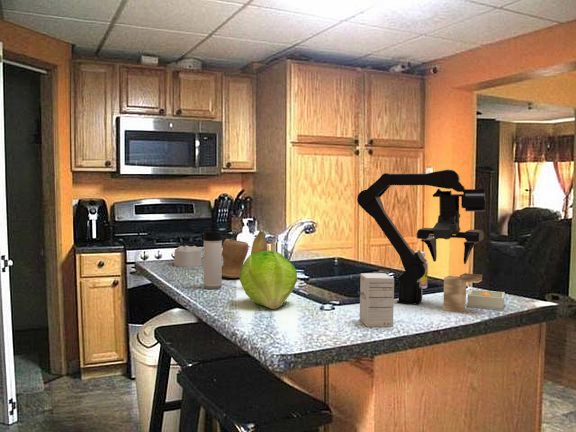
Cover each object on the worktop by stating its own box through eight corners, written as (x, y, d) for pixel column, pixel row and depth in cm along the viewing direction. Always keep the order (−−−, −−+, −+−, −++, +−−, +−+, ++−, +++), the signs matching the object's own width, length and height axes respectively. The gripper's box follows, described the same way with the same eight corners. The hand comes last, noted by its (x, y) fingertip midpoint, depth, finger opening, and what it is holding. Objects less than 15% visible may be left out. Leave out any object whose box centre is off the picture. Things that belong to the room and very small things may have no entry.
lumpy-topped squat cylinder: (183, 268, 230) (183, 248, 230) (169, 264, 240) (169, 245, 240) (204, 265, 237) (204, 246, 237) (189, 262, 247) (189, 244, 247)
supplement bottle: (427, 289, 184) (428, 253, 184) (408, 289, 186) (409, 252, 185) (426, 286, 191) (427, 251, 190) (407, 285, 192) (408, 250, 192)
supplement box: (358, 319, 141) (359, 272, 140) (386, 319, 141) (387, 272, 141) (365, 327, 133) (366, 277, 133) (393, 326, 134) (394, 277, 133)
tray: (467, 306, 158) (467, 295, 158) (470, 300, 167) (470, 289, 167) (503, 310, 154) (503, 298, 154) (504, 303, 163) (504, 292, 163)
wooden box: (443, 310, 153) (444, 273, 152) (448, 307, 157) (449, 271, 157) (476, 314, 148) (477, 277, 147) (481, 311, 152) (482, 274, 151)
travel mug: (199, 288, 182) (199, 231, 181) (209, 285, 188) (209, 229, 187) (215, 290, 180) (215, 231, 179) (224, 287, 186) (225, 230, 185)
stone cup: (254, 277, 206) (254, 239, 206) (230, 281, 198) (230, 241, 197) (230, 273, 217) (230, 236, 216) (206, 276, 209) (206, 238, 208)
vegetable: (257, 291, 179) (257, 232, 178) (246, 288, 184) (246, 231, 183) (270, 288, 183) (271, 231, 182) (259, 286, 188) (259, 230, 187)
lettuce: (233, 315, 150) (256, 276, 143) (230, 270, 167) (251, 232, 160) (286, 330, 157) (311, 293, 149) (278, 284, 173) (300, 249, 166)
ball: (476, 296, 161) (485, 294, 158) (481, 291, 163) (490, 289, 161) (481, 305, 161) (490, 303, 159) (486, 300, 163) (495, 298, 161)
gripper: (409, 213, 157) (410, 265, 159) (473, 215, 147) (473, 270, 148) (423, 209, 166) (423, 258, 168) (484, 211, 156) (484, 263, 157)
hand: (449, 262), depth 160 cm, fingers open, 9 cm apart
